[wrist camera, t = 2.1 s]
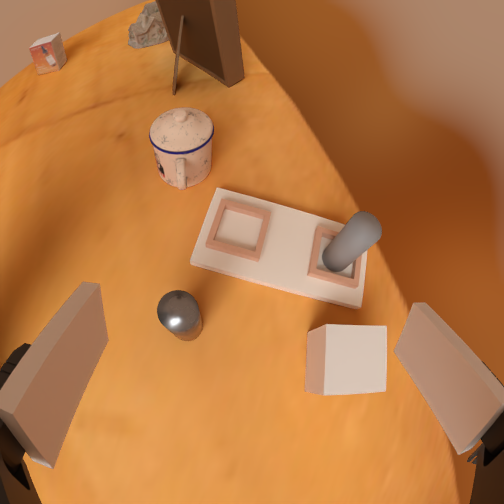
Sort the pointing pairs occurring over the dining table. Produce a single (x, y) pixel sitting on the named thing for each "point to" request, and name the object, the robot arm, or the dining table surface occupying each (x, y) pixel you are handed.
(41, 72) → the small box
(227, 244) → the pegboard
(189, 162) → the teacup with lid
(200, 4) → the photo frame
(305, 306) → the dining table surface
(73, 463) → the dining table surface
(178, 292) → the peg
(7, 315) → the dining table surface
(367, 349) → the block
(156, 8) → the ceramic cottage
